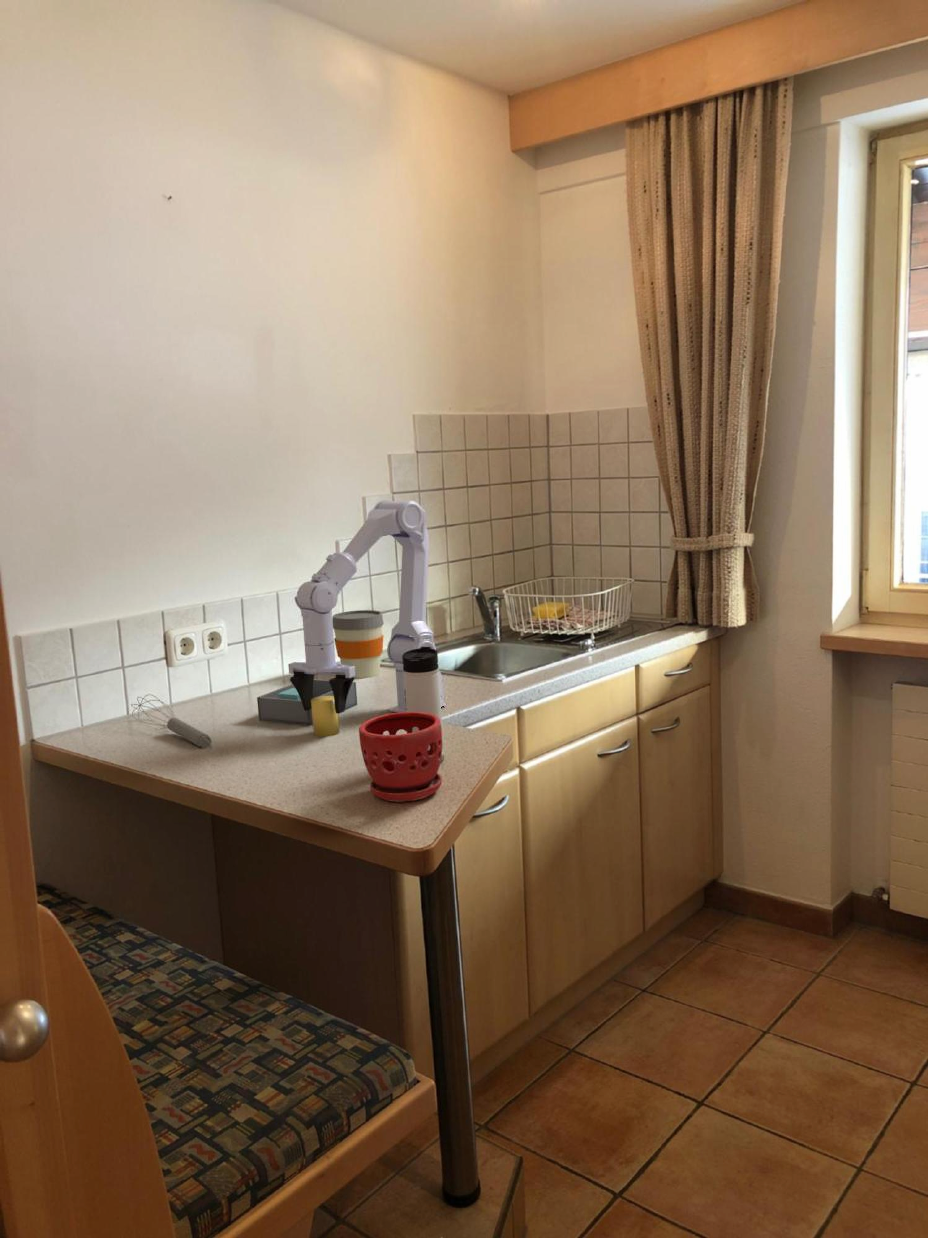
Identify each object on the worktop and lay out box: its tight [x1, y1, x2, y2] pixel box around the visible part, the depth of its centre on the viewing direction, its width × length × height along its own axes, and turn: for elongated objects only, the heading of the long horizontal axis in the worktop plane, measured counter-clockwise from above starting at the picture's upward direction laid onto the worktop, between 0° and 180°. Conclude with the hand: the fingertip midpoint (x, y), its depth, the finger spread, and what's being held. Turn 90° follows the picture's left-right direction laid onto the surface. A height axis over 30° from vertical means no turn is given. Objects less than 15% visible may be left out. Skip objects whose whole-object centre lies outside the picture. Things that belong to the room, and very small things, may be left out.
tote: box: [256, 678, 358, 726], centre depth 217 cm, size 17×13×5 cm
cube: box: [278, 688, 301, 700], centre depth 214 cm, size 5×5×5 cm
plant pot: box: [358, 712, 443, 803], centre depth 163 cm, size 13×13×12 cm
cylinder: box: [311, 696, 340, 738], centre depth 201 cm, size 5×5×7 cm
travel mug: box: [402, 647, 445, 763], centre depth 179 cm, size 6×7×20 cm
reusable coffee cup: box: [332, 609, 384, 680], centre depth 250 cm, size 13×13×15 cm
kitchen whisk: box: [130, 694, 213, 749], centre depth 207 cm, size 6×34×6 cm, turn 40°
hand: (324, 710), depth 201 cm, fingers open, 7 cm apart
